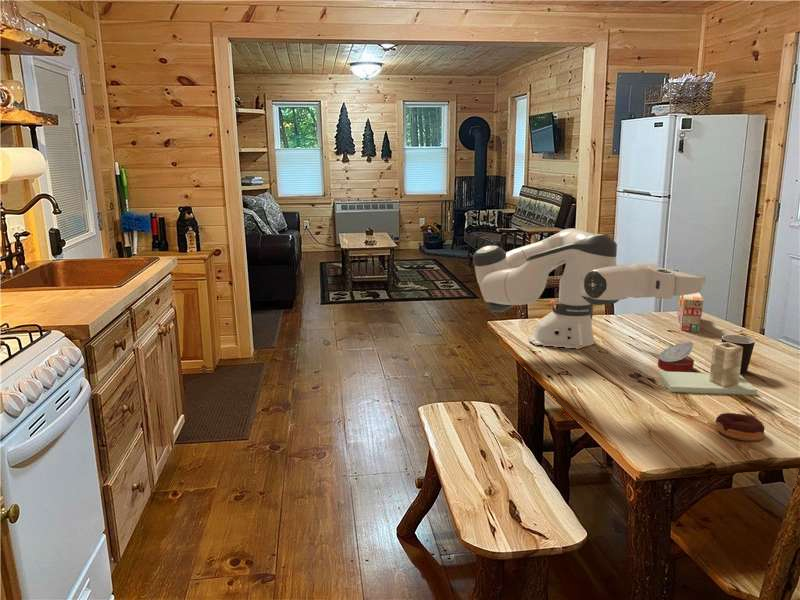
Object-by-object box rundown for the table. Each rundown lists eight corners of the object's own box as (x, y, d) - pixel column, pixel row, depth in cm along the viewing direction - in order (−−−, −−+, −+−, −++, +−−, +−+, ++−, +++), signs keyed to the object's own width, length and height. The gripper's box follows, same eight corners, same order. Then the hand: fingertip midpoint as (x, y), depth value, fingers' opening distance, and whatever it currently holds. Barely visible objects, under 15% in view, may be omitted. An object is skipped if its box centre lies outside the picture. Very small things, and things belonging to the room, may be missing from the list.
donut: (768, 432, 137) (770, 417, 136) (758, 448, 130) (761, 431, 129) (721, 420, 144) (722, 405, 143) (709, 434, 137) (711, 419, 136)
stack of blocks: (676, 316, 236) (679, 286, 233) (694, 317, 233) (697, 287, 230) (681, 331, 216) (684, 298, 213) (700, 332, 214) (703, 299, 211)
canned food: (686, 388, 176) (687, 365, 170) (652, 377, 182) (652, 354, 176) (700, 363, 181) (701, 340, 175) (666, 353, 188) (667, 330, 182)
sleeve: (723, 387, 160) (728, 349, 157) (709, 381, 164) (713, 343, 162) (738, 385, 161) (743, 347, 158) (723, 379, 166) (728, 341, 163)
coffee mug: (750, 378, 170) (754, 345, 168) (716, 372, 174) (720, 340, 172) (752, 365, 179) (756, 334, 177) (720, 361, 184) (723, 330, 182)
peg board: (670, 391, 161) (670, 386, 161) (658, 376, 173) (658, 371, 172) (756, 395, 158) (757, 389, 158) (738, 378, 170) (739, 373, 169)
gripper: (619, 284, 162) (661, 280, 166) (672, 300, 143) (718, 295, 147) (620, 261, 161) (663, 258, 165) (674, 275, 142) (721, 270, 145)
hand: (689, 276), depth 156 cm, fingers open, 8 cm apart
